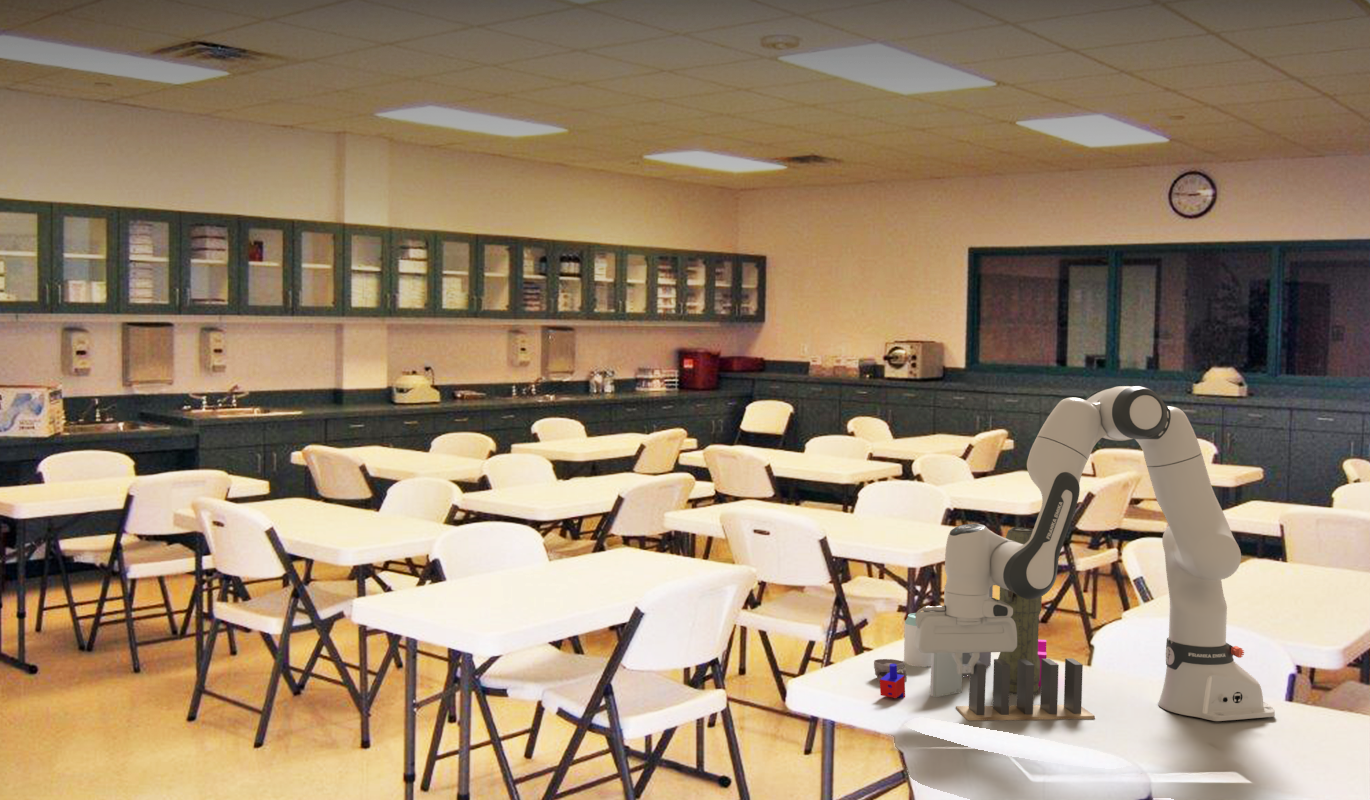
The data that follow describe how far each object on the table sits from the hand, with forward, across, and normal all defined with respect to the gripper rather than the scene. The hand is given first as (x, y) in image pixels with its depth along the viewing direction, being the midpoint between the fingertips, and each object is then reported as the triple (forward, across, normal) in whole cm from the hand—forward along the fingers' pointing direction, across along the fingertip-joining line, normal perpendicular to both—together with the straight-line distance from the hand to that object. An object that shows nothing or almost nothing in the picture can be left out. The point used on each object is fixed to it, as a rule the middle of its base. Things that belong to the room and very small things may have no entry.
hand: (965, 673), depth 261 cm
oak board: (+8, +12, 0) cm, 15 cm away
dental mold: (+9, -9, +24) cm, 27 cm away
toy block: (+9, +26, +26) cm, 38 cm away
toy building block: (+9, -12, +11) cm, 18 cm away
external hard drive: (+8, 0, +14) cm, 16 cm away
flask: (+9, +12, +32) cm, 35 cm away
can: (+8, +2, +38) cm, 39 cm away
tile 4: (+8, +18, 0) cm, 19 cm away
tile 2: (+8, +8, 0) cm, 11 cm away
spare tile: (+8, +12, 0) cm, 15 cm away
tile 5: (+8, +22, 0) cm, 24 cm away
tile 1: (+8, +2, 0) cm, 8 cm away
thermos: (+9, +18, +17) cm, 26 cm away
